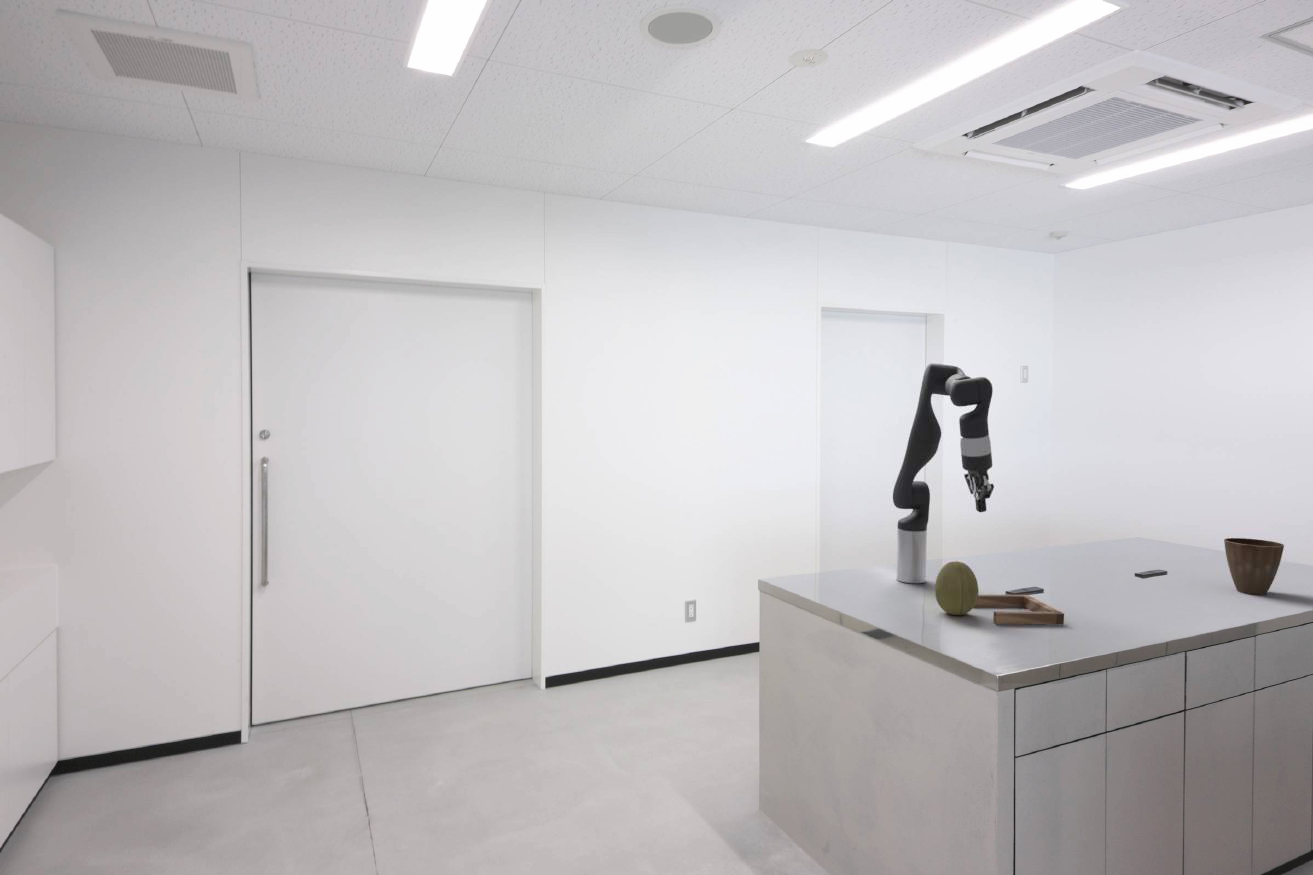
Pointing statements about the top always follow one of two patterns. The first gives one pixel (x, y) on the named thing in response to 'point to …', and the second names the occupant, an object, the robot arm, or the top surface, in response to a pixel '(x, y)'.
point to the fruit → (956, 588)
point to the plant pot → (1253, 563)
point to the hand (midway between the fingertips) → (981, 510)
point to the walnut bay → (1037, 616)
